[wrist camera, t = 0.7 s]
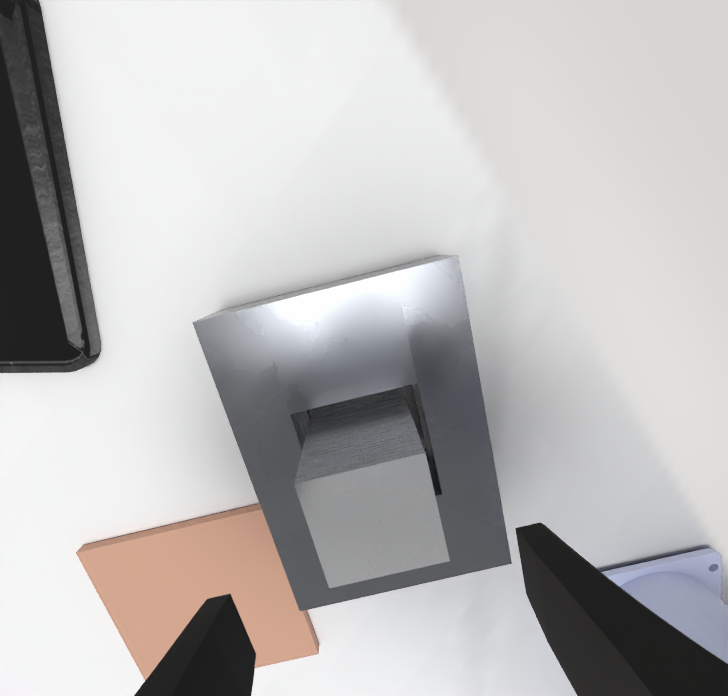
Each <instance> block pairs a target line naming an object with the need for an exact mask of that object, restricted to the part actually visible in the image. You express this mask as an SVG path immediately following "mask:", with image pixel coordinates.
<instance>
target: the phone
mask: <svg viewBox="0 0 728 696" xmlns="http://www.w3.org/2000/svg"><path fill="white" fill-rule="evenodd" d="M100 352H101V341H100V335H99V329H98V324H97V318H96V313H95V307H94V302H93V296H92V290H91V285H90V279H89V274H88V268H87V263H86V257H85V251H84V246H83V240H82V235H81V229H80V224H79V218H78V213H77V207H76V201H75V196H74V190H73V185H72V179H71V174H70V168H69V162H68V157H67V151H66V146H65V140H64V135H63V129H62V123H61V118H60V112H59V107H58V101H57V96H56V90H55V84H54V79H53V73H52V68H51V62H50V57H49V51H48V46H47V40H46V34H45V29H44V23H43V18H42V12H41V7H40V4H39V1H38V0H0V373H43V372H73V371H77V370H79V369H82V368H84V367H86V366H88V365H90V364H92V363H94V362H95V361H96V359H97V358H98V357H99V354H100Z"/></svg>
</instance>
